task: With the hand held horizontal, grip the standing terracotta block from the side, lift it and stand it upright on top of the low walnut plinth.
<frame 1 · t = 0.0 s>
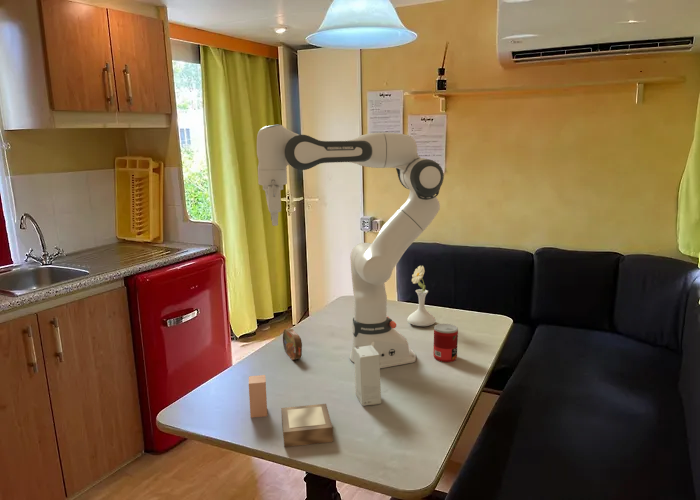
hand: (274, 223, 166), 48 cm above the table, tool pointing down, fingers open, 8 cm apart
flower in vase: (421, 325, 212), on the table
tin: (292, 355, 184), on the table
skincare box: (367, 399, 153), on the table
canned food: (445, 358, 180), on the table
plinth: (306, 431, 136), on the table
terracotta block: (258, 412, 145), on the table
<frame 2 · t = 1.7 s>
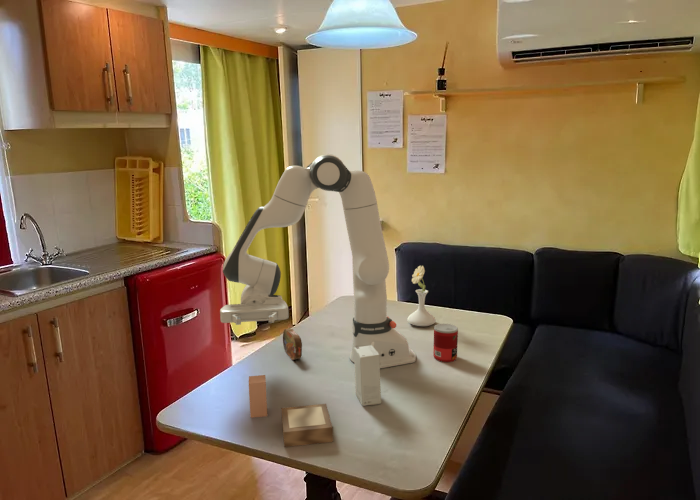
hand: (254, 321, 152), 22 cm above the table, tool horizontal, fingers open, 8 cm apart
nothing on the table moved.
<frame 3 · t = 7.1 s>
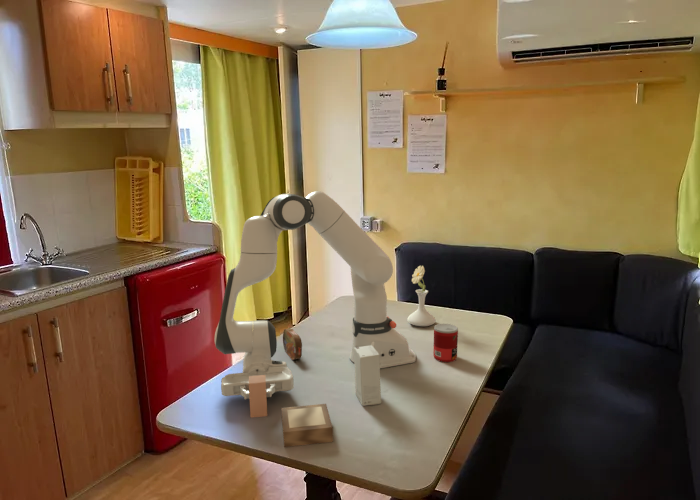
hand: (258, 395, 143), 6 cm above the table, tool horizontal, fingers closed on terracotta block, 4 cm apart
terracotta block: (258, 412, 145), on the table, touching gripper
everything else where it was.
when the fingers open (10 cm above the table, at t = 13.6 s): terracotta block stays where it is, resting on plinth.
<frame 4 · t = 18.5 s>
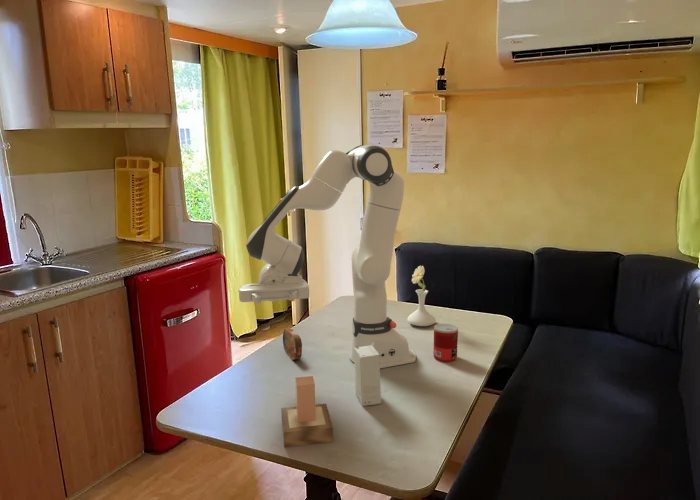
hand: (275, 299, 147), 30 cm above the table, tool horizontal, fingers open, 8 cm apart
terracotta block: (306, 416, 135), point 4 cm above the table, touching plinth
everything else where it was.
at the end: terracotta block inside the target area on the plinth (0.0 cm from its centre), point 4.1 cm above the plinth's base; terracotta block tilted 0°; the gripper is holding nothing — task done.
